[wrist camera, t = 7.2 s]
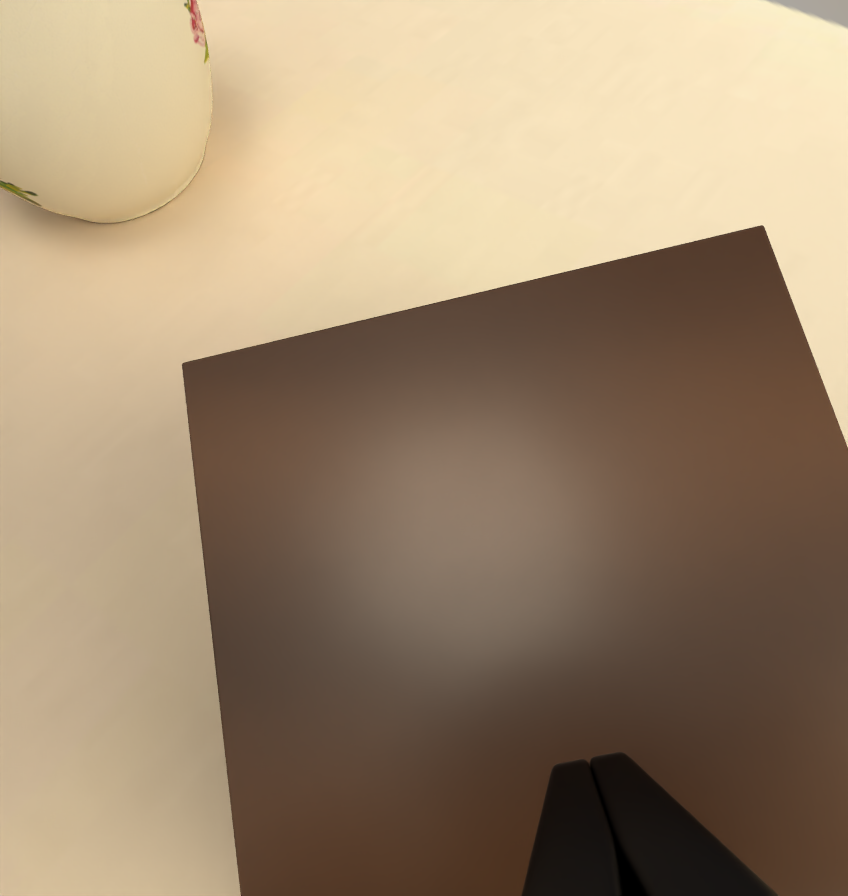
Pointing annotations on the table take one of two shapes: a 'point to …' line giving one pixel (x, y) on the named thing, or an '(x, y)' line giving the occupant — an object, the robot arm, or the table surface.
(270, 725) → the lid
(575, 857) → the robot arm
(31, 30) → the pitcher
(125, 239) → the table surface
